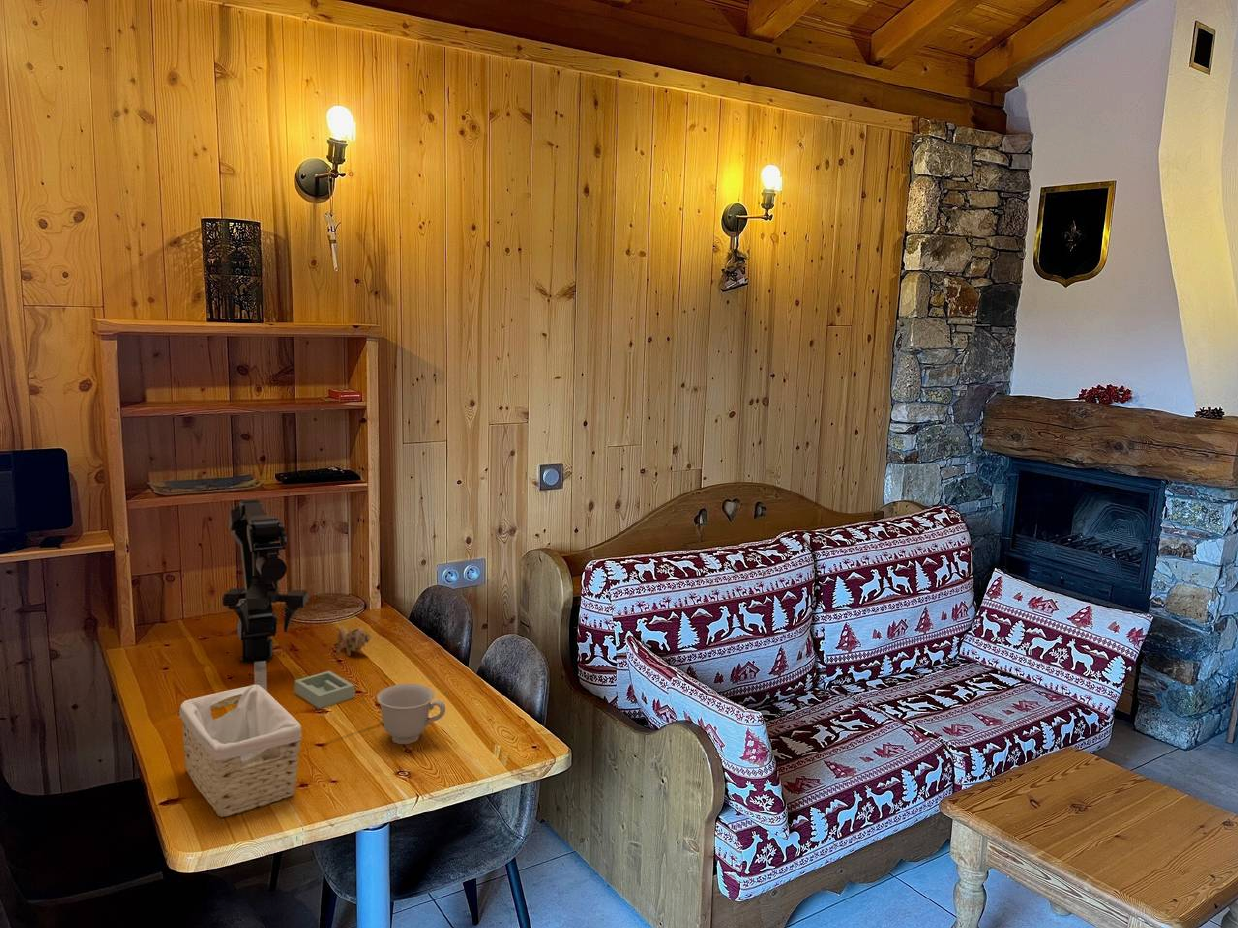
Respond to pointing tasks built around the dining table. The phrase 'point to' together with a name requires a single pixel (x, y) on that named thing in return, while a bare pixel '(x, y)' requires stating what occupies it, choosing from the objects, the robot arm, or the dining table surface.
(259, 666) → the rectangular steel block
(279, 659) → the dining table surface
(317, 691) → the storage box
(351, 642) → the lion figurine
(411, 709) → the teacup
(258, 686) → the storage basket
